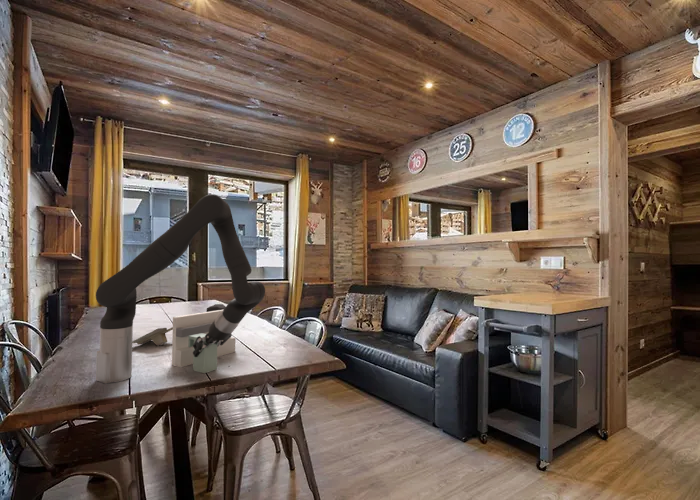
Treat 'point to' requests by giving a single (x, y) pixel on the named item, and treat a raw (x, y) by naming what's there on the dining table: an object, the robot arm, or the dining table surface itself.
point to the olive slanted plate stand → (154, 337)
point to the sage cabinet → (204, 356)
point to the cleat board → (192, 326)
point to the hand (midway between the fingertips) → (202, 353)
